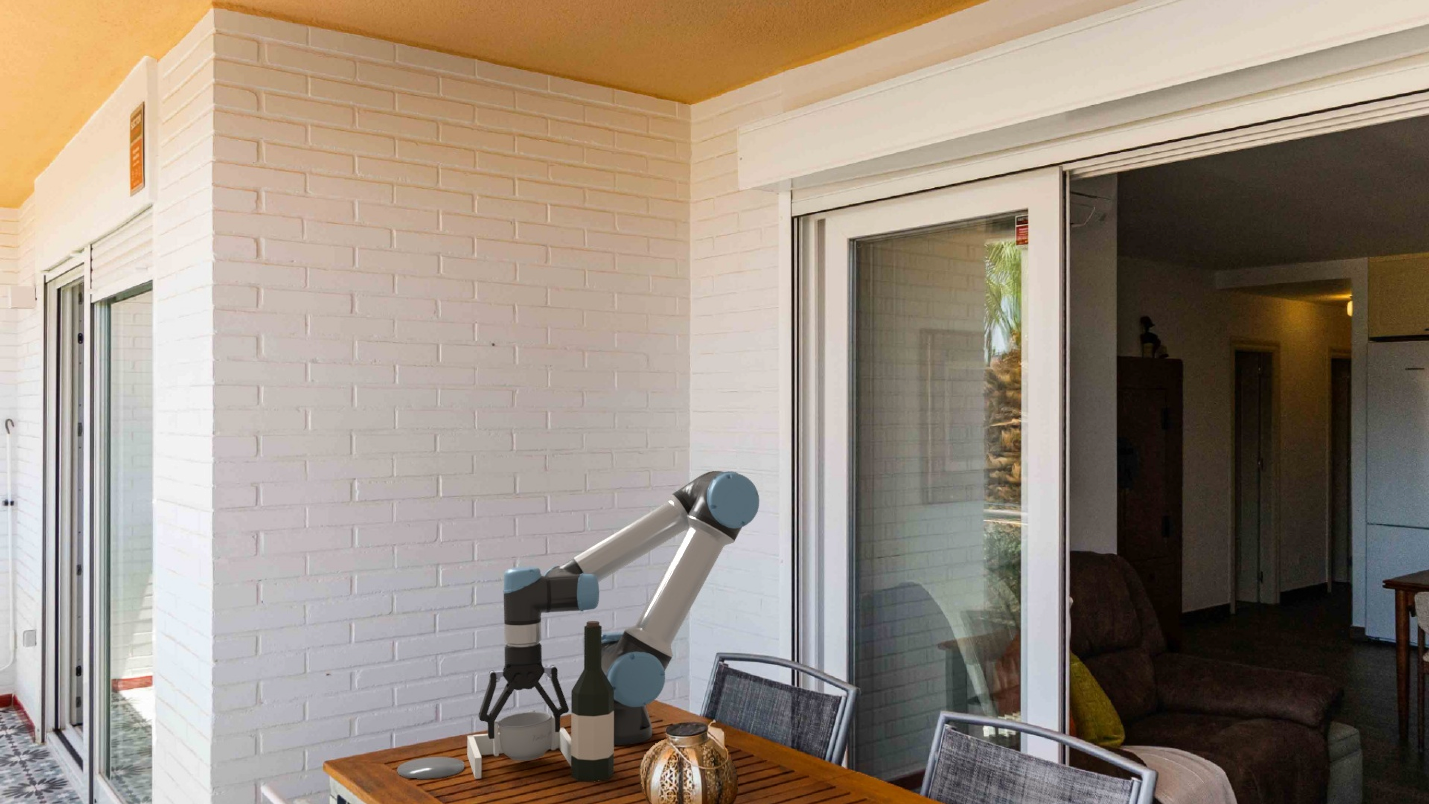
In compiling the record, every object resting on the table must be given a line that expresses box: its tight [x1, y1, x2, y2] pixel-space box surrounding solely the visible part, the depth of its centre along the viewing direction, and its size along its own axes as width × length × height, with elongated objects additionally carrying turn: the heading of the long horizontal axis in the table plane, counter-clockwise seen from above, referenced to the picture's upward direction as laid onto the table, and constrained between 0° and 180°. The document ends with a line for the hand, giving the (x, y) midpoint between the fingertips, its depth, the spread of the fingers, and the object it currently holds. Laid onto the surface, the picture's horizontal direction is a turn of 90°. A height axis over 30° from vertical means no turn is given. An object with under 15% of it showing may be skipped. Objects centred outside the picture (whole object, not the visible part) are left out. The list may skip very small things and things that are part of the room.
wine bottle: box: [570, 620, 615, 783], centre depth 214 cm, size 8×8×30 cm
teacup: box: [497, 709, 552, 762], centre depth 222 cm, size 14×11×8 cm
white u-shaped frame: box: [466, 727, 571, 780], centre depth 222 cm, size 20×17×4 cm
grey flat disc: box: [396, 756, 465, 780], centre depth 217 cm, size 13×13×1 cm
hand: (524, 751), depth 222 cm, fingers closed on teacup, 11 cm apart
